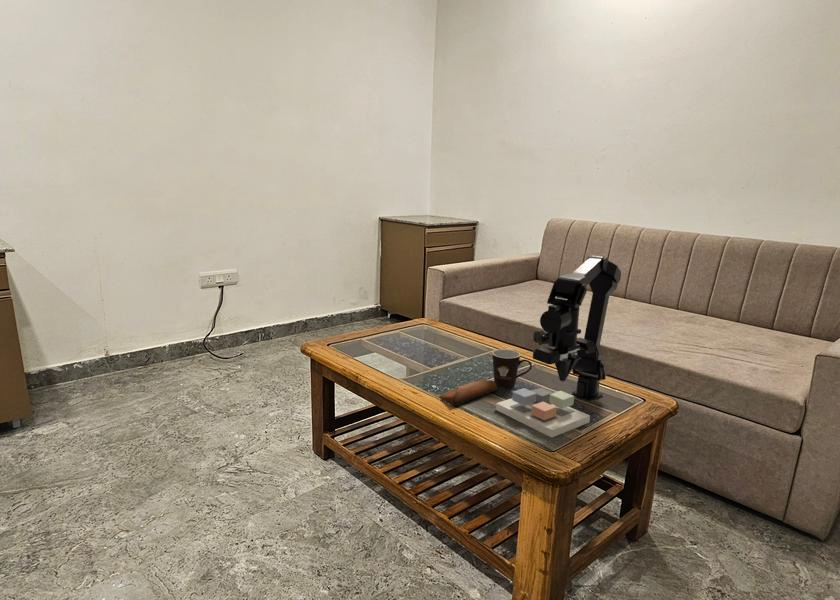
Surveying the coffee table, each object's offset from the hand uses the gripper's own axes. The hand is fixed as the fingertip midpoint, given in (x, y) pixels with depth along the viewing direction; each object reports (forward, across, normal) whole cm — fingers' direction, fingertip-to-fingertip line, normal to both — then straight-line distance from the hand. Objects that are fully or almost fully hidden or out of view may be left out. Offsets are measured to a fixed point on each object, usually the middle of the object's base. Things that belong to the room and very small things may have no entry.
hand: (562, 380), depth 148 cm
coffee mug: (+11, -5, -24) cm, 27 cm away
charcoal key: (+8, 0, -7) cm, 11 cm away
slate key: (+7, +7, -7) cm, 12 cm away
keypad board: (+10, +4, -3) cm, 12 cm away
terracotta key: (+8, +7, 0) cm, 11 cm away
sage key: (+7, 0, 0) cm, 7 cm away
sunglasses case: (+11, +11, -26) cm, 30 cm away
